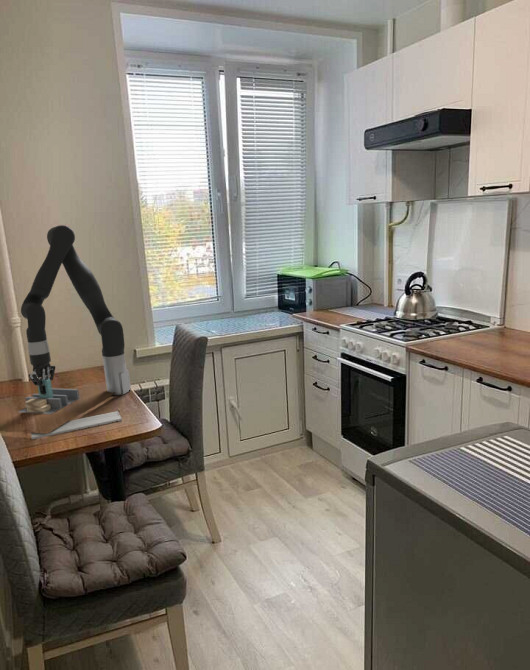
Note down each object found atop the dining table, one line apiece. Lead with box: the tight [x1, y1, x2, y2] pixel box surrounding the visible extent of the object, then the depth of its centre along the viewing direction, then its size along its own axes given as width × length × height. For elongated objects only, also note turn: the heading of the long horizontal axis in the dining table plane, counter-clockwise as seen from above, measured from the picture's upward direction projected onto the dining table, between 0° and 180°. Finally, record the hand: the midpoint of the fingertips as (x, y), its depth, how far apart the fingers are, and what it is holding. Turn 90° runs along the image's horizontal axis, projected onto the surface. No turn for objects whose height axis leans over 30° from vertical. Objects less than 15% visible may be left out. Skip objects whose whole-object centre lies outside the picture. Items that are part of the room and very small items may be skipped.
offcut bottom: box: [26, 404, 51, 413], centre depth 201 cm, size 8×4×2 cm, turn 74°
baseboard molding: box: [30, 408, 123, 440], centre depth 188 cm, size 31×3×12 cm
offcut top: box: [24, 399, 47, 408], centre depth 201 cm, size 7×4×2 cm, turn 74°
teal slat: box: [37, 379, 53, 398], centre depth 205 cm, size 5×2×11 cm, turn 74°
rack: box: [18, 387, 81, 415], centre depth 207 cm, size 16×18×6 cm
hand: (45, 392), depth 205 cm, fingers closed on teal slat, 2 cm apart
